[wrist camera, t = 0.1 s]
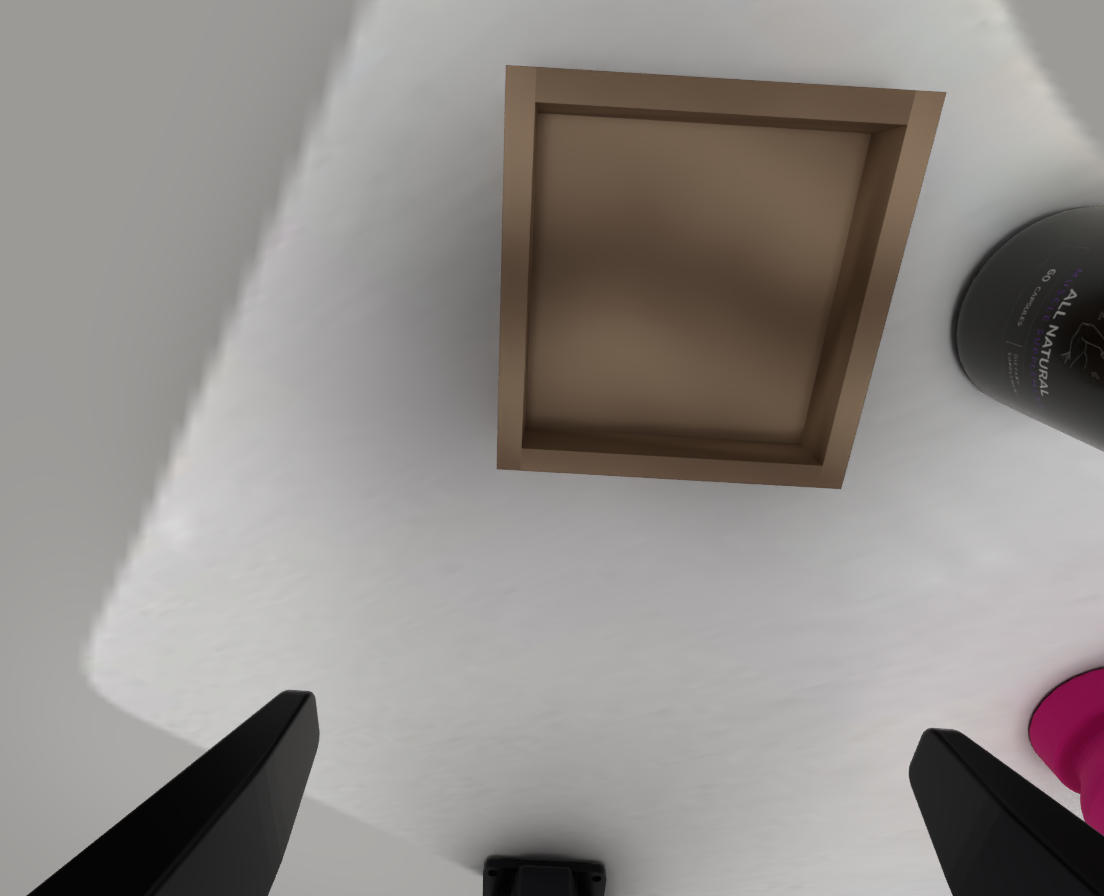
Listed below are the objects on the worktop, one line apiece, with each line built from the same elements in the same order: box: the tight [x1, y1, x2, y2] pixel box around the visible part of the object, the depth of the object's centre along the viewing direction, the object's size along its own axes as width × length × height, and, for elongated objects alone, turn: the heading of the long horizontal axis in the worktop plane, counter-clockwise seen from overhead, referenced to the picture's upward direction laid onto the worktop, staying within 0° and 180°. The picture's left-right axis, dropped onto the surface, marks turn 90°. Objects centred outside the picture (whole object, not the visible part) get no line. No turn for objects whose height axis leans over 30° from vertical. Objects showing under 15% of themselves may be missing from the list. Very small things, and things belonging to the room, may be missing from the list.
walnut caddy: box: [497, 65, 946, 489], centre depth 19 cm, size 12×12×3 cm
